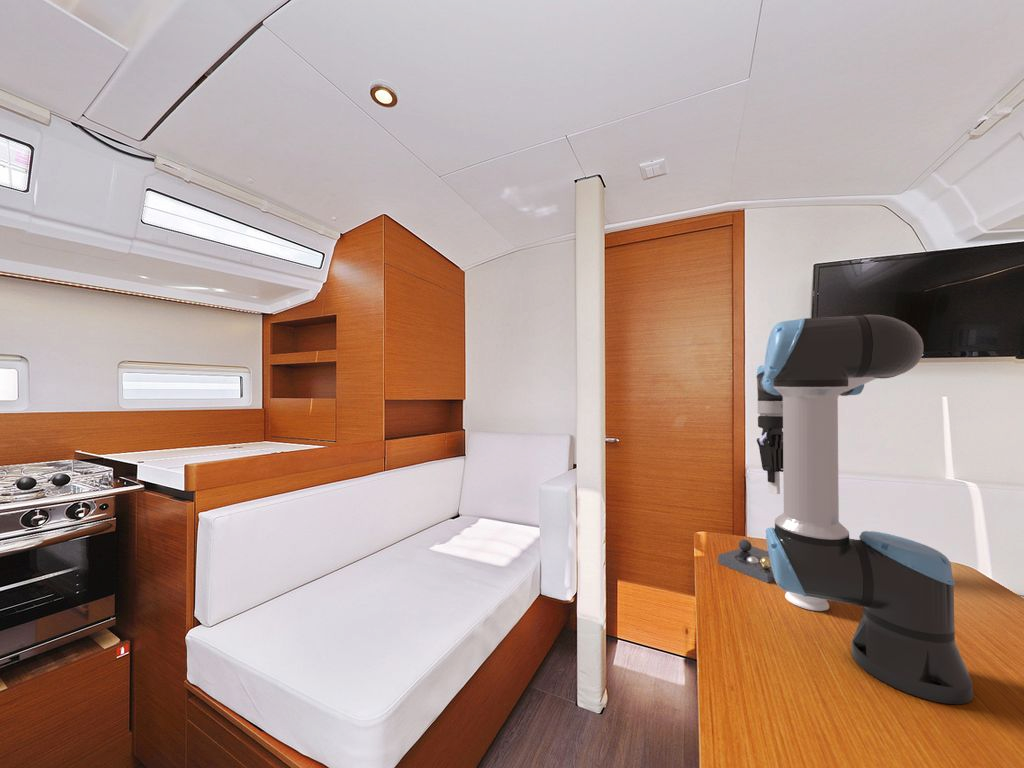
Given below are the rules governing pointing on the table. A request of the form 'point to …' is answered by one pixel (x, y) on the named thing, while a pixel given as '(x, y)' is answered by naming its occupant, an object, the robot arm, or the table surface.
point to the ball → (752, 560)
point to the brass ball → (765, 562)
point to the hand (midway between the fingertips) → (773, 492)
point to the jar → (807, 602)
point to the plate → (747, 563)
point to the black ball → (745, 545)
